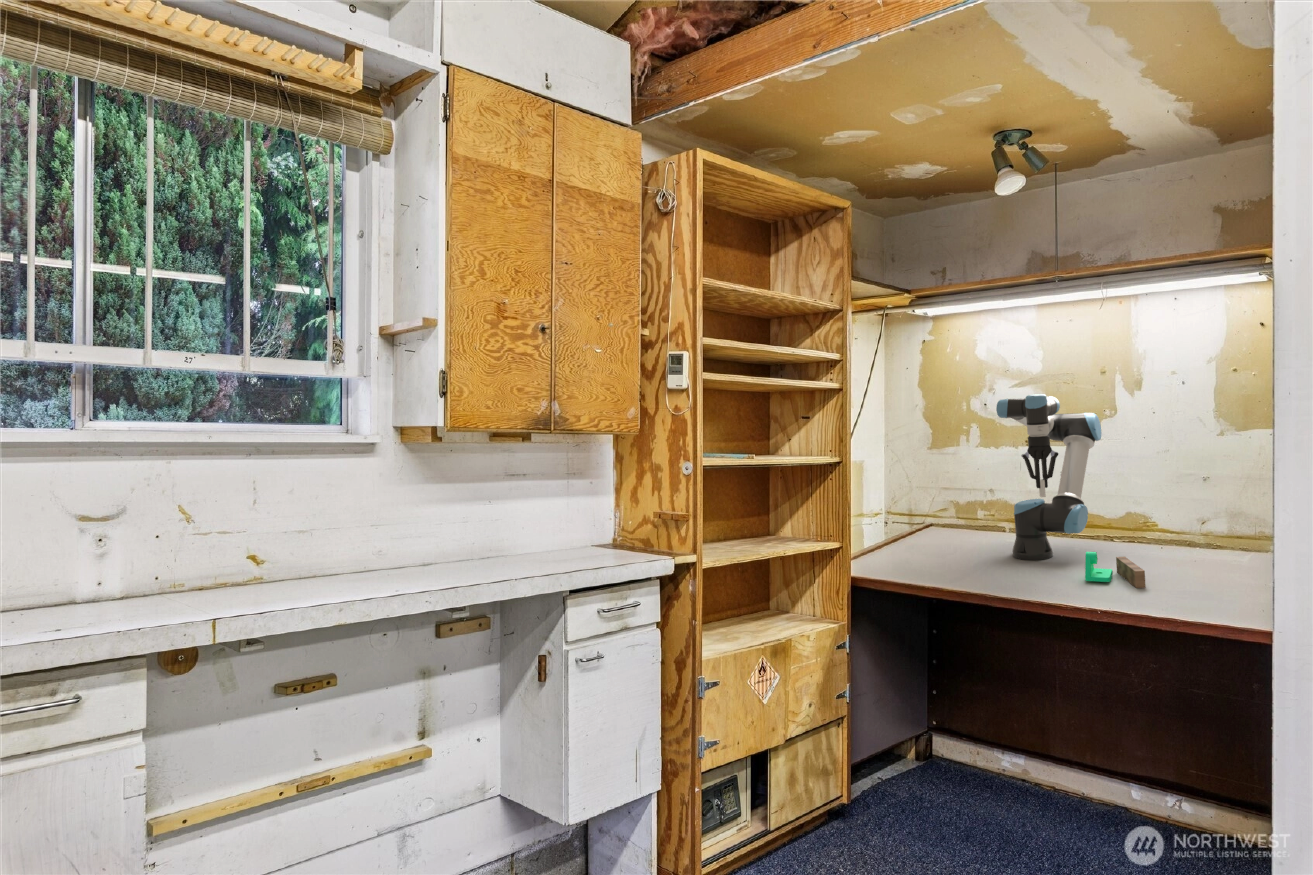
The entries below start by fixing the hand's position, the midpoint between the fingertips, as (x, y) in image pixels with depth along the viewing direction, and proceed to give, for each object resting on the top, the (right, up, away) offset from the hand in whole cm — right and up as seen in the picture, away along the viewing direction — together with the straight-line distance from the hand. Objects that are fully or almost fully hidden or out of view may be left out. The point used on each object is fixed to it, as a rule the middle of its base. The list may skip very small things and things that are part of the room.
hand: (1042, 496), depth 316 cm
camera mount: (+14, -30, -13) cm, 36 cm away
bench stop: (+23, -29, -18) cm, 41 cm away
